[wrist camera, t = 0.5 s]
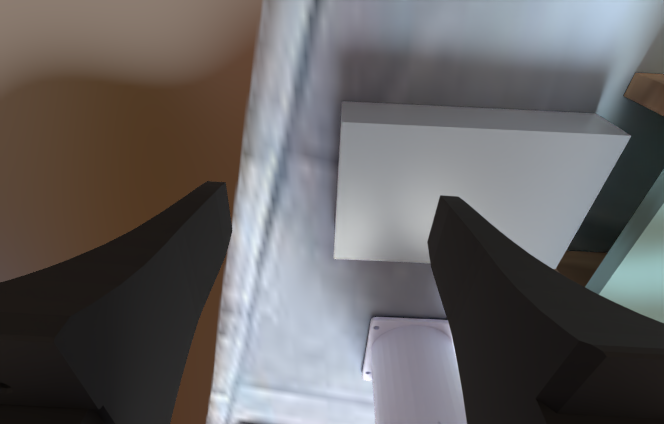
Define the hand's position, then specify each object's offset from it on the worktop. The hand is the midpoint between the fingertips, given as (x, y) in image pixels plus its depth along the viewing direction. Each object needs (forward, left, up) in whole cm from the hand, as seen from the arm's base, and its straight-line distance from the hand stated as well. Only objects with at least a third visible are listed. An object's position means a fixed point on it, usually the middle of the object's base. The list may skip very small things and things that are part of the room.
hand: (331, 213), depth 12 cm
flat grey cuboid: (-4, -7, -10) cm, 13 cm away
